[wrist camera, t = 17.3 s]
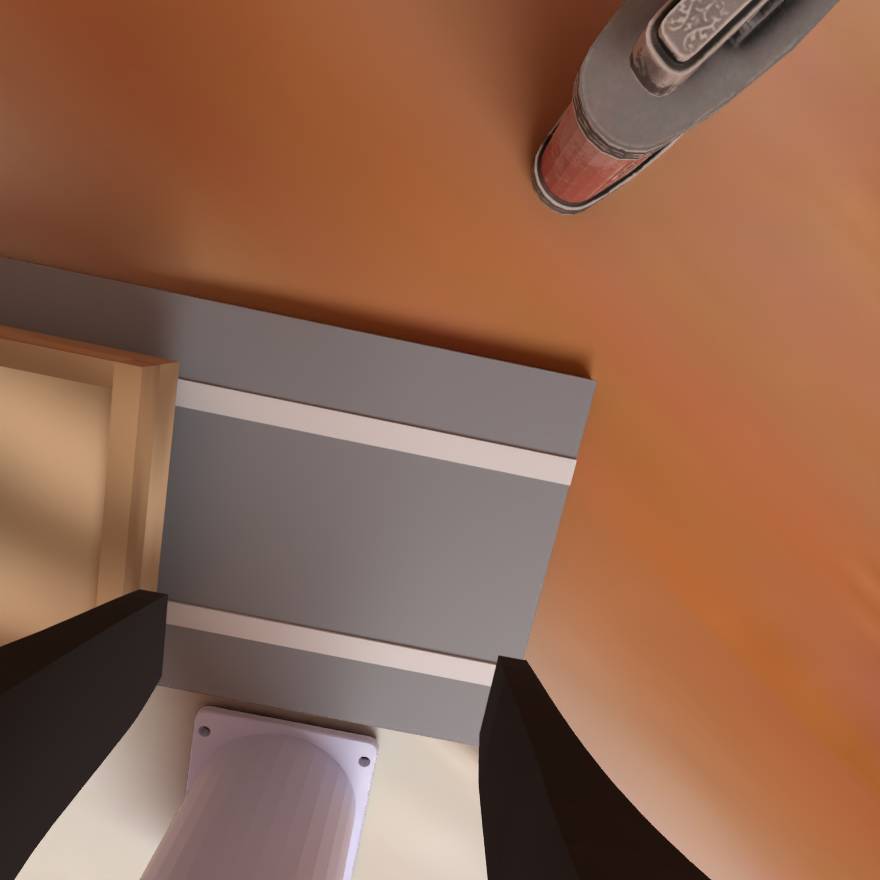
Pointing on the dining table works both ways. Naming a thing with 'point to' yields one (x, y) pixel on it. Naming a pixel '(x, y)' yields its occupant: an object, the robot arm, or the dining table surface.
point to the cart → (79, 476)
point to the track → (336, 501)
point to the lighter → (659, 86)
